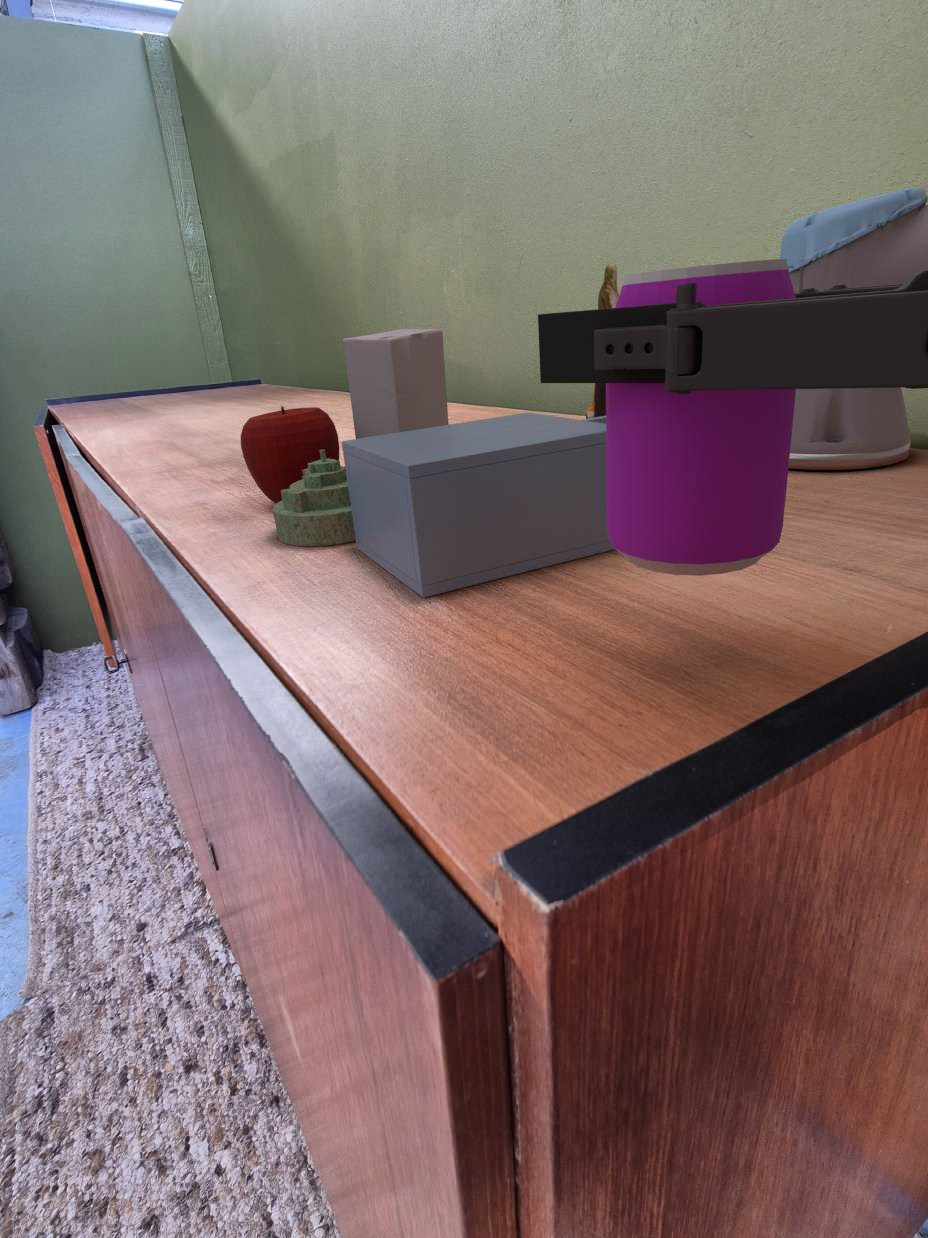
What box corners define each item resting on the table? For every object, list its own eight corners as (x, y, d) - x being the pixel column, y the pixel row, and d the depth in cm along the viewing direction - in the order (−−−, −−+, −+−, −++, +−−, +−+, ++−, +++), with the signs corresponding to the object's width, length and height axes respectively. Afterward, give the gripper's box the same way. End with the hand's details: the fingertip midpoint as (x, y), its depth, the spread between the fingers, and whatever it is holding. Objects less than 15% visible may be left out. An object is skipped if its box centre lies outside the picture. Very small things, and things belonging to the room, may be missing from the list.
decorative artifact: (351, 549, 58) (410, 515, 66) (338, 462, 55) (401, 438, 63) (254, 543, 62) (320, 512, 70) (237, 462, 59) (308, 439, 67)
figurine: (651, 476, 72) (655, 256, 64) (575, 477, 75) (570, 266, 67) (655, 466, 76) (659, 259, 69) (582, 467, 79) (579, 267, 71)
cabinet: (532, 510, 64) (528, 412, 61) (629, 546, 52) (629, 426, 49) (357, 548, 58) (341, 441, 54) (423, 598, 46) (408, 465, 43)
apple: (249, 503, 76) (229, 407, 73) (337, 489, 79) (322, 396, 76) (259, 522, 68) (238, 415, 64) (356, 505, 71) (341, 402, 67)
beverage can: (760, 525, 36) (781, 262, 31) (800, 579, 29) (835, 251, 24) (605, 531, 37) (603, 279, 33) (608, 584, 31) (607, 274, 26)
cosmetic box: (409, 480, 81) (392, 329, 74) (460, 484, 77) (447, 325, 70) (358, 498, 74) (334, 335, 68) (410, 503, 70) (390, 331, 64)
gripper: (1367, 567, 13) (452, 466, 28) (1295, 399, 26) (702, 393, 41) (1599, 43, 10) (432, 250, 25) (1384, 156, 23) (709, 246, 38)
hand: (601, 339), depth 33 cm, fingers closed on beverage can, 8 cm apart
